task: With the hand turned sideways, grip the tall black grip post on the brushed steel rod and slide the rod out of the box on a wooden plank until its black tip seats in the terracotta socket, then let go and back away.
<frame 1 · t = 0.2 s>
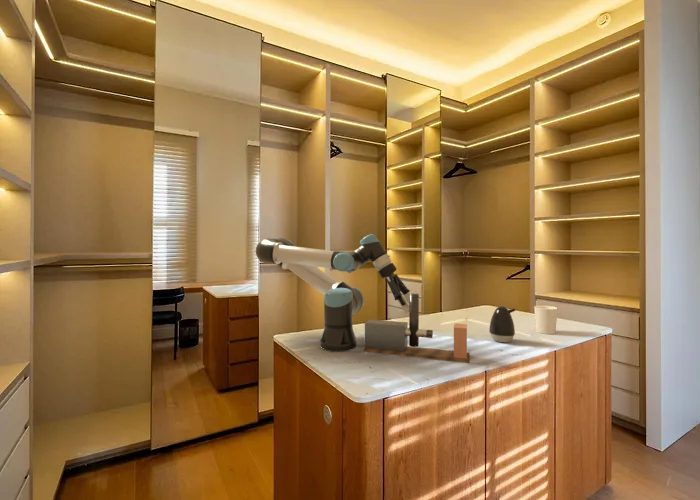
hand: (411, 309, 147), 15 cm above the table, tool tilted 35°, fingers open, 13 cm apart
base board: (415, 353, 135), on the table
candle holder: (545, 332, 167), on the table
box on wooden plank: (386, 350, 139), resting on base board
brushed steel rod: (401, 318, 137), point 13 cm above the table, slide at 0.0 cm
socket: (459, 357, 130), resting on base board
pump dispenser: (502, 341, 152), on the table
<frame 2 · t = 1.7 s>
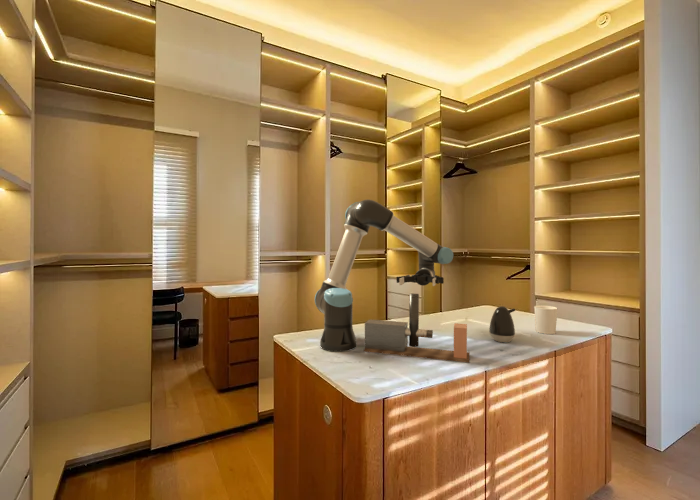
hand: (416, 282, 144), 27 cm above the table, tool horizontal, fingers open, 13 cm apart
nothing on the table moved.
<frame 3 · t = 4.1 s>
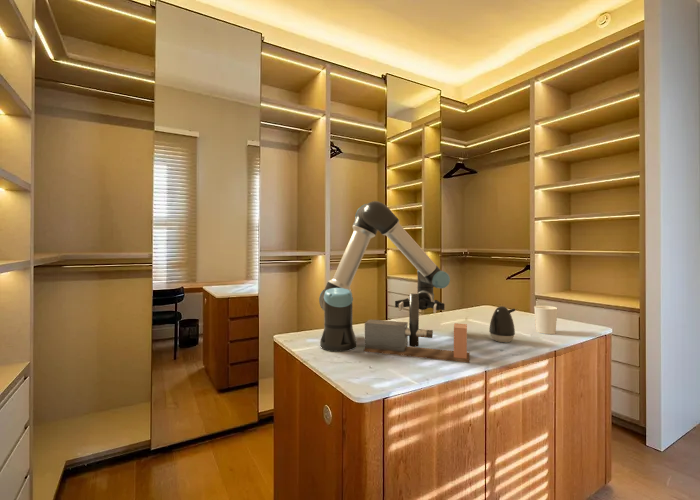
hand: (416, 308, 137), 17 cm above the table, tool horizontal, fingers open, 13 cm apart
nothing on the table moved.
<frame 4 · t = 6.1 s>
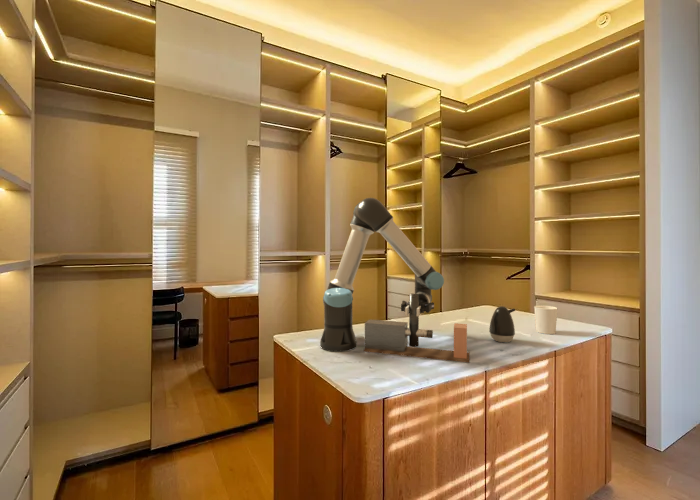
hand: (411, 312, 130), 17 cm above the table, tool horizontal, fingers closed on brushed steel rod, 4 cm apart
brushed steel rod: (401, 318, 137), point 13 cm above the table, slide at 0.0 cm, touching gripper
everything else where it was.
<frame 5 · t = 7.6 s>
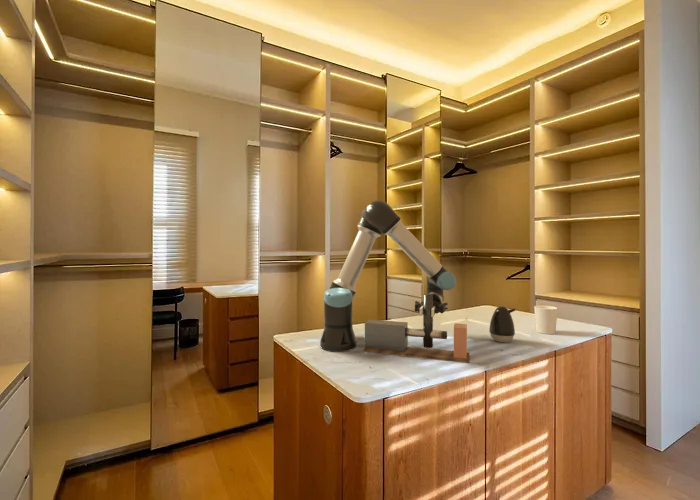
hand: (426, 312, 128), 17 cm above the table, tool horizontal, fingers closed on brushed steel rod, 4 cm apart
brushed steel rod: (414, 319, 135), point 13 cm above the table, slide at 5.4 cm, touching gripper
everything else where it was.
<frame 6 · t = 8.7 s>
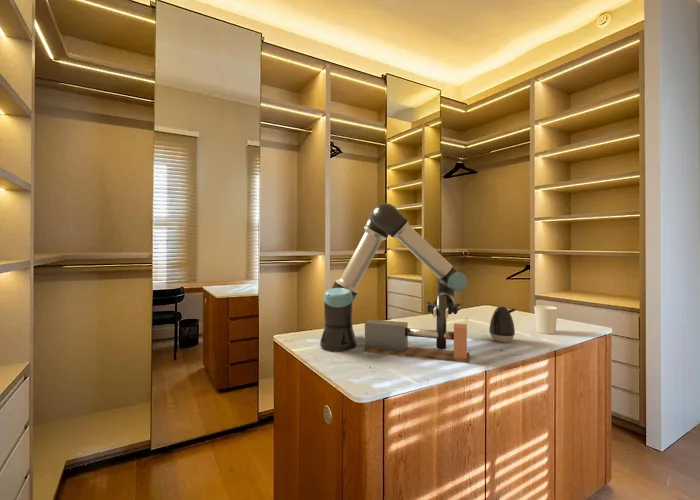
hand: (440, 313, 127), 17 cm above the table, tool horizontal, fingers closed on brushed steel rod, 4 cm apart
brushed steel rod: (427, 320, 133), point 13 cm above the table, slide at 10.3 cm, touching gripper
everything else where it was.
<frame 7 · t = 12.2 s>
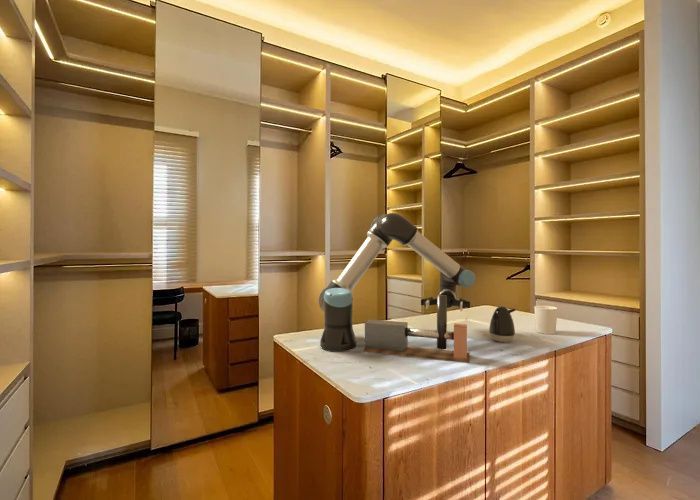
hand: (443, 306, 141), 17 cm above the table, tool horizontal, fingers open, 13 cm apart
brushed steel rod: (428, 320, 133), point 13 cm above the table, slide at 10.5 cm
everything else where it was.
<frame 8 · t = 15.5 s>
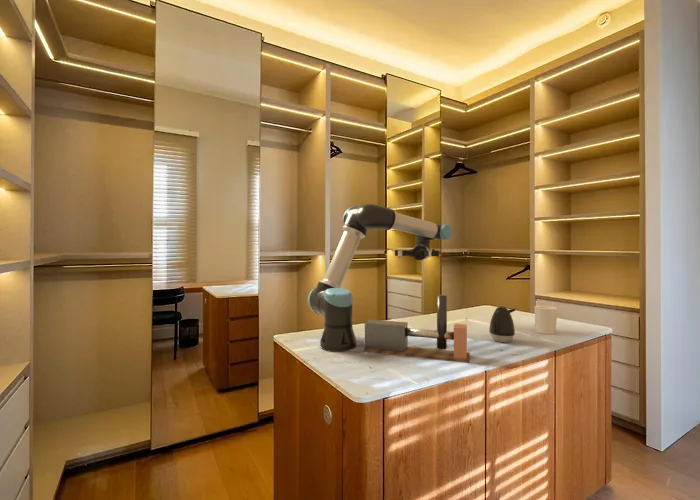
hand: (413, 253, 154), 38 cm above the table, tool horizontal, fingers open, 13 cm apart
nothing on the table moved.
at the end: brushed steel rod slide at 10.5 cm; the gripper is holding nothing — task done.
